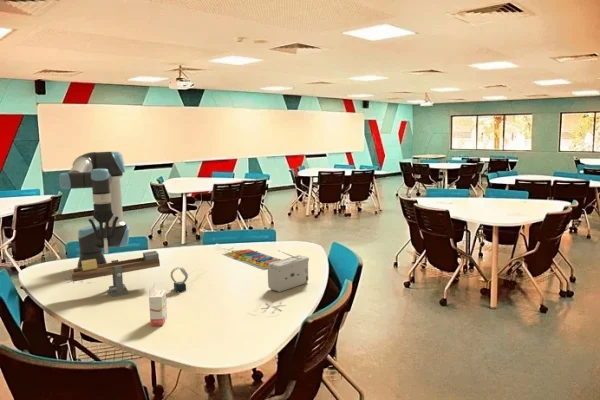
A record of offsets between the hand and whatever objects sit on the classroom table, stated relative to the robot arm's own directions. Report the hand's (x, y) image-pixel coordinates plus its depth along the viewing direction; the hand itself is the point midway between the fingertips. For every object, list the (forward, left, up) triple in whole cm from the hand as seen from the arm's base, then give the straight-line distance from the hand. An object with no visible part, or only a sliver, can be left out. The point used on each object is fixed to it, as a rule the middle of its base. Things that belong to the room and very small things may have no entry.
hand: (106, 252), depth 214 cm
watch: (+13, +30, -20) cm, 38 cm away
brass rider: (+1, -8, -8) cm, 11 cm away
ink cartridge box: (+47, +13, -20) cm, 53 cm away
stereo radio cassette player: (+36, +77, -20) cm, 87 cm away
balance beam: (0, +4, -9) cm, 10 cm away
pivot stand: (0, +4, -19) cm, 20 cm away
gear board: (-18, +83, -20) cm, 87 cm away
